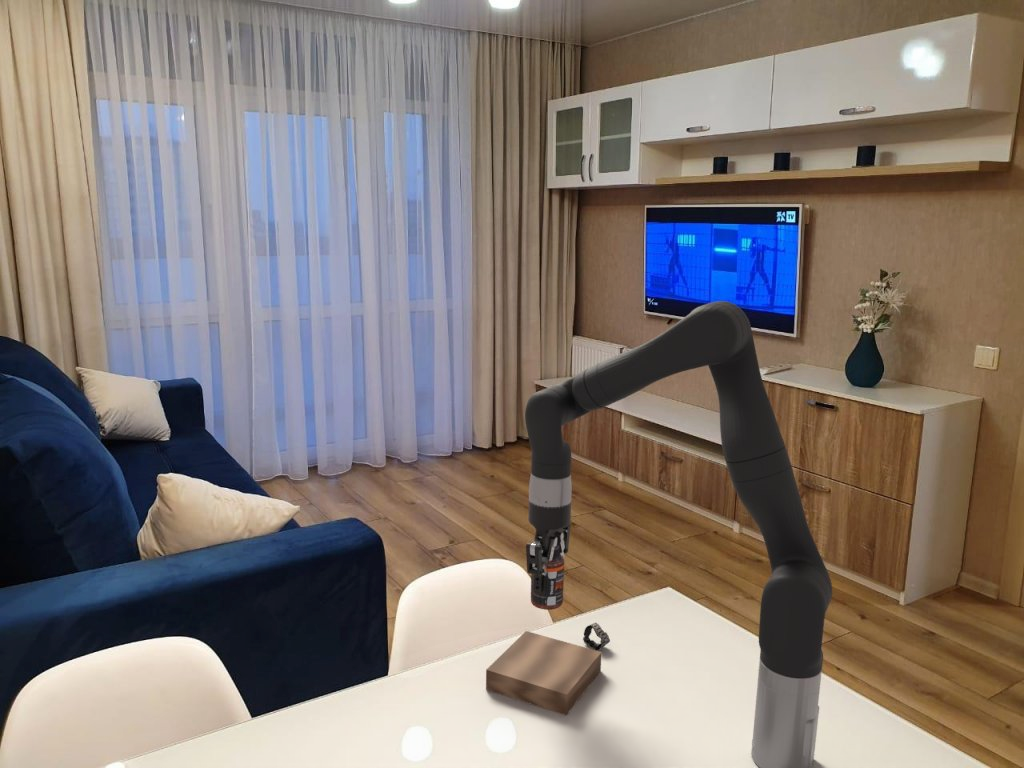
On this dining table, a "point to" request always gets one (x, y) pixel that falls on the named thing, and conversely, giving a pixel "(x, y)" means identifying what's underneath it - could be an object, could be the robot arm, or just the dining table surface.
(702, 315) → the robot arm
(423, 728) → the dining table surface
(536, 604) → the supplement bottle
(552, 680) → the walnut block
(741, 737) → the dining table surface
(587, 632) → the wristwatch
